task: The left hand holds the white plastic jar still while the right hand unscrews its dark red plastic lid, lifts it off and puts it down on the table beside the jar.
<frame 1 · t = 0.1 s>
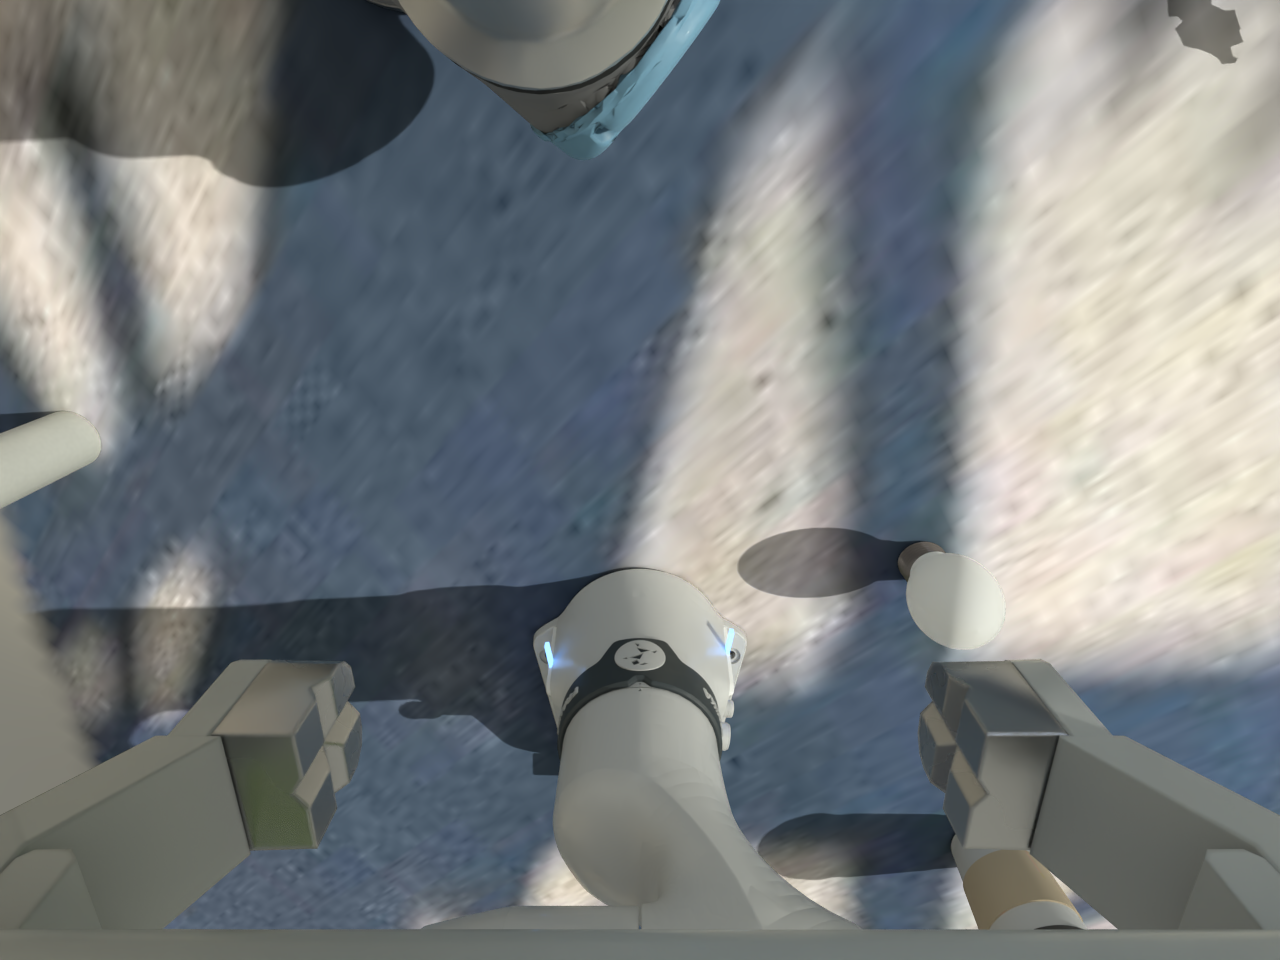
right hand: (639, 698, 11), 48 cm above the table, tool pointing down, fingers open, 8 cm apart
jar: (71, 438, 60), on the table
coffee cup: (984, 841, 75), on the table
light bulb: (922, 558, 64), on the table
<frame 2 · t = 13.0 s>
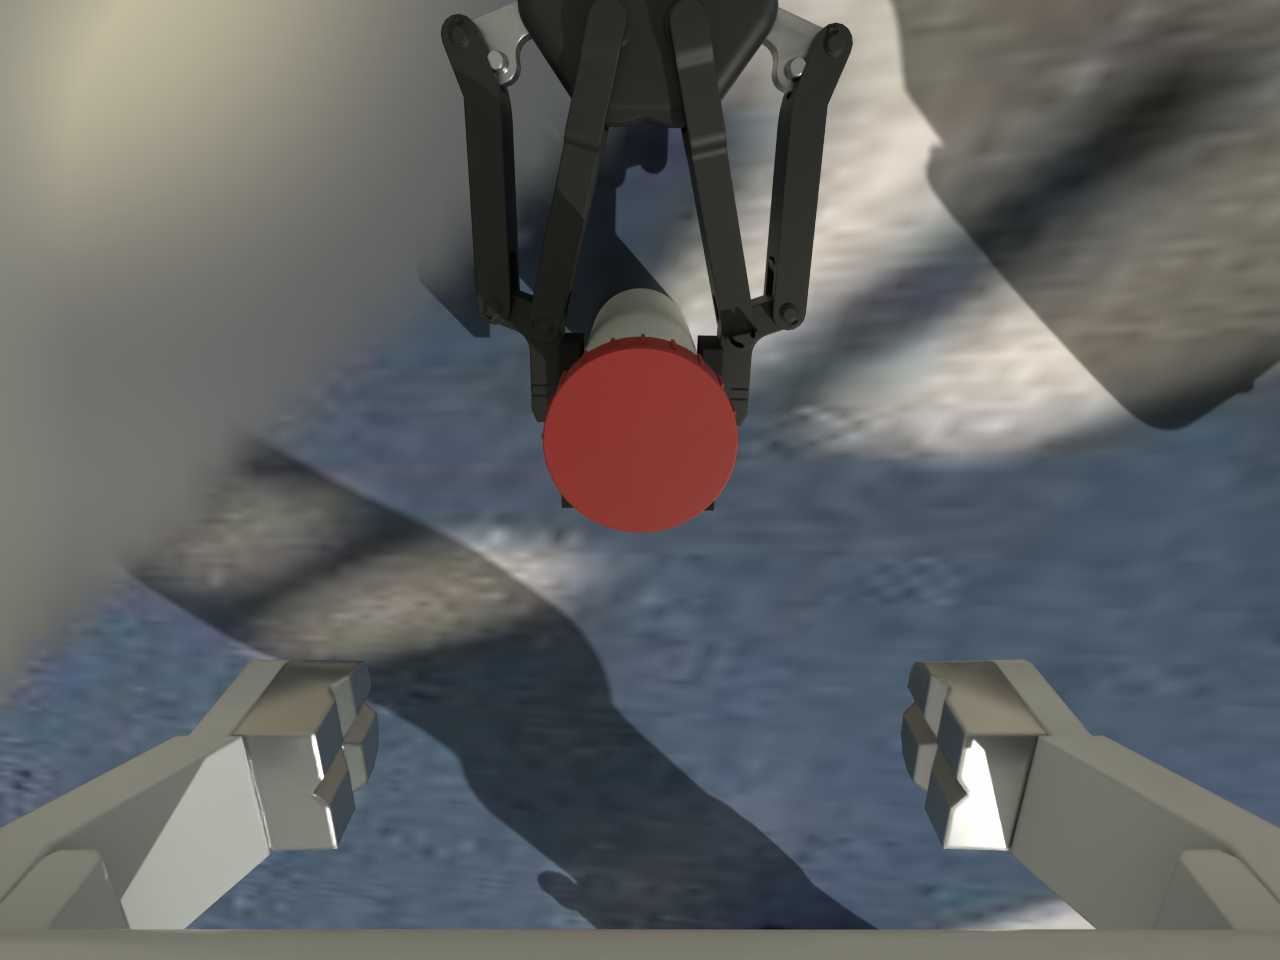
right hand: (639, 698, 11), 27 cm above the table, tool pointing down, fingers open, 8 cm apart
left hand: (638, 494, 31), fingers closed on jar, 5 cm apart
jar: (640, 337, 35), on the table, touching left hand
lid: (640, 440, 21), point 15 cm above the table, screwed on, not yet turned
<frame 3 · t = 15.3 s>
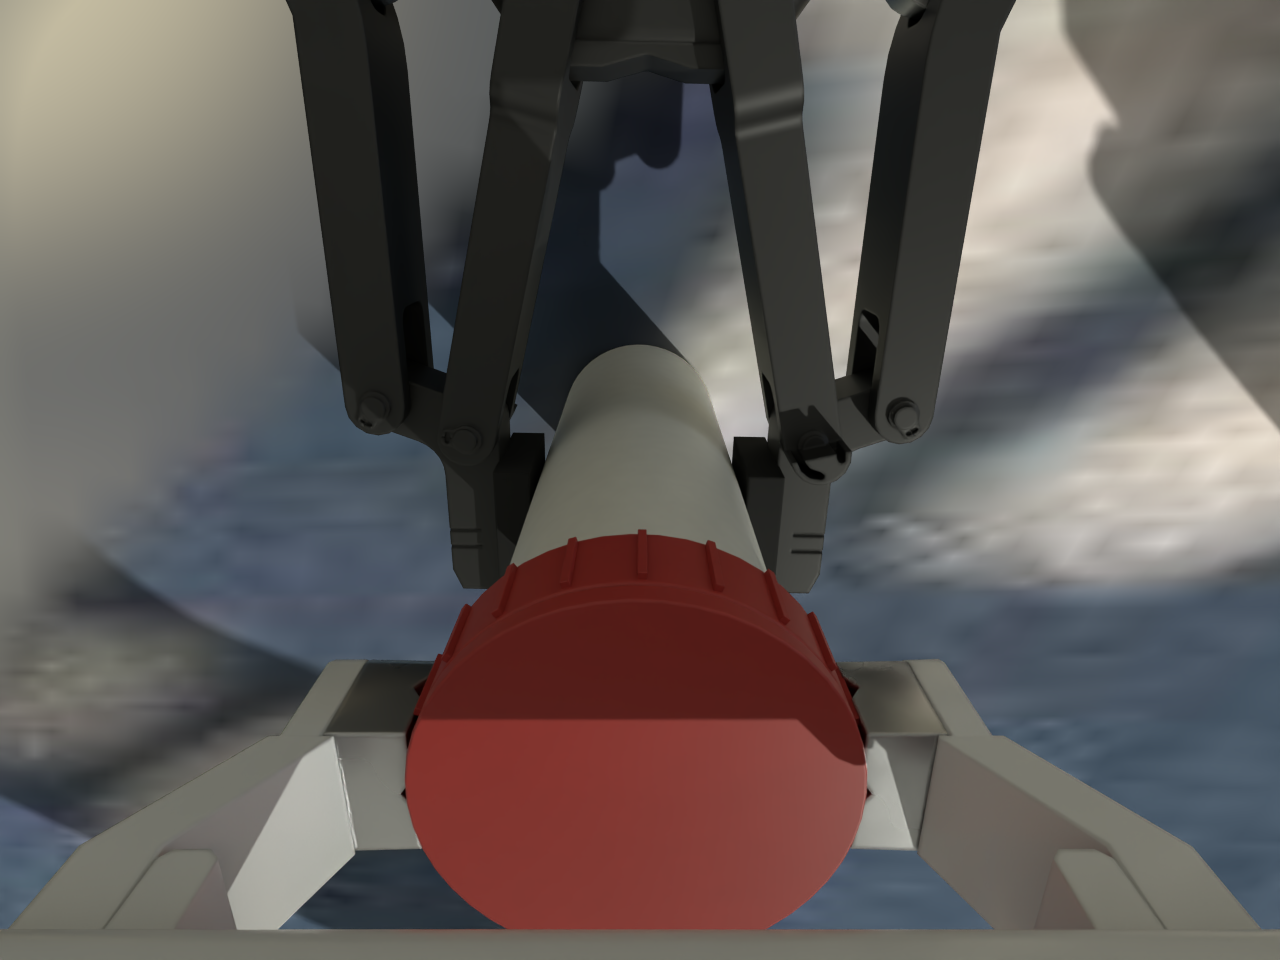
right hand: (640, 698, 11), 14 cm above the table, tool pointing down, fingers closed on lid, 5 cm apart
left hand: (634, 690, 19), fingers closed on jar, 5 cm apart
jar: (638, 417, 23), on the table, touching left hand
lid: (636, 779, 9), point 15 cm above the table, screwed on, not yet turned, touching right hand
when the right hand's fingers open (2 cm above the table, at t = 29.3 s): lid drops 2 cm, point 1 cm above the table.
when the left hand's fingers open (7 cm above the table, at t = 30.2 s): jar stays where it is, on the table.
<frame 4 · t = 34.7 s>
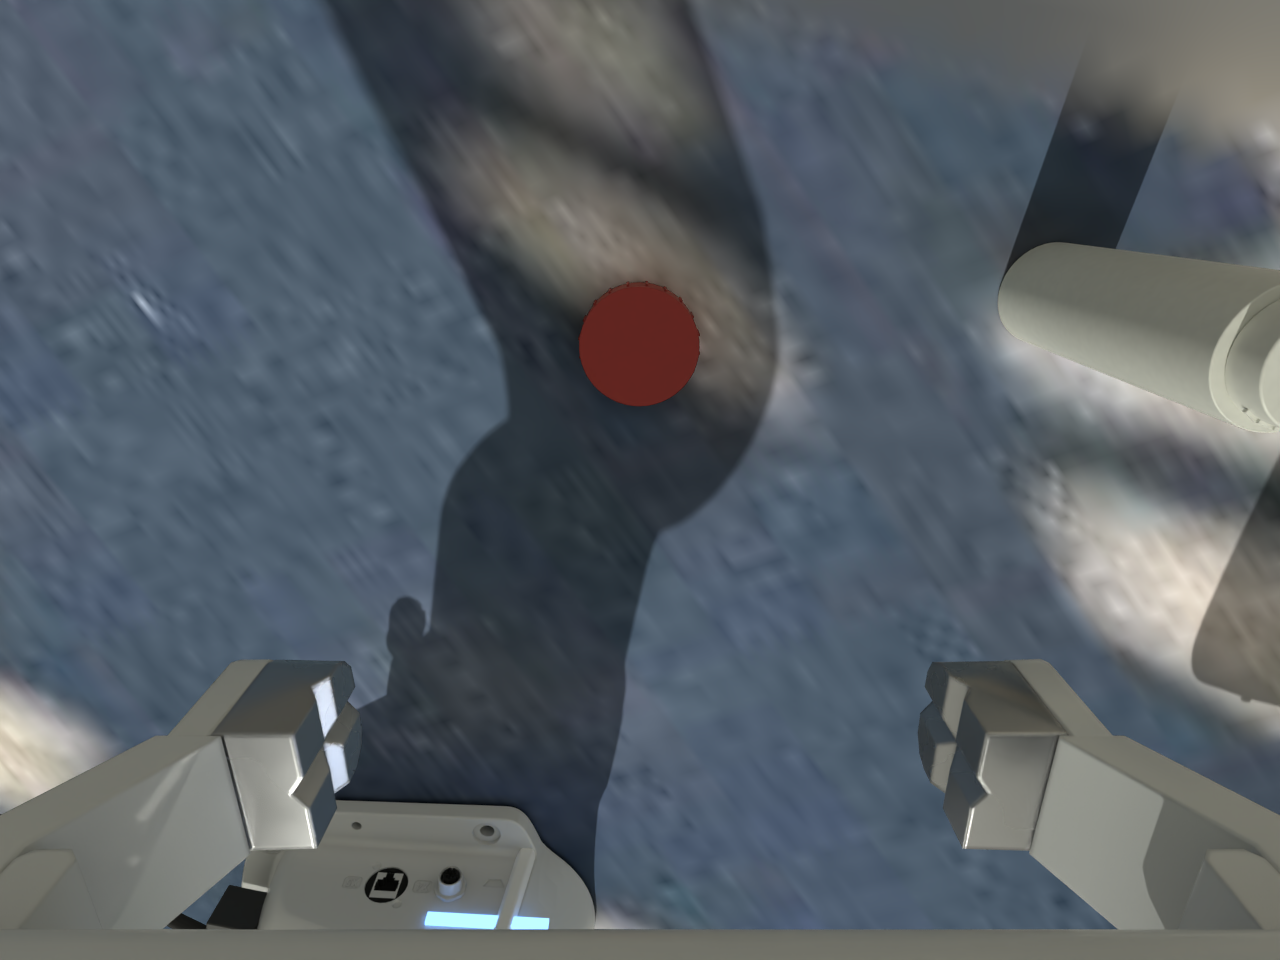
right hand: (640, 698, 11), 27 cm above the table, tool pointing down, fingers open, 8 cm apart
jar: (1047, 294, 35), on the table
lid: (639, 346, 34), point 1 cm above the table, off its thread
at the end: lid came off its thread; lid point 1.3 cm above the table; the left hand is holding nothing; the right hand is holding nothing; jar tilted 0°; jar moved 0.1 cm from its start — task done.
